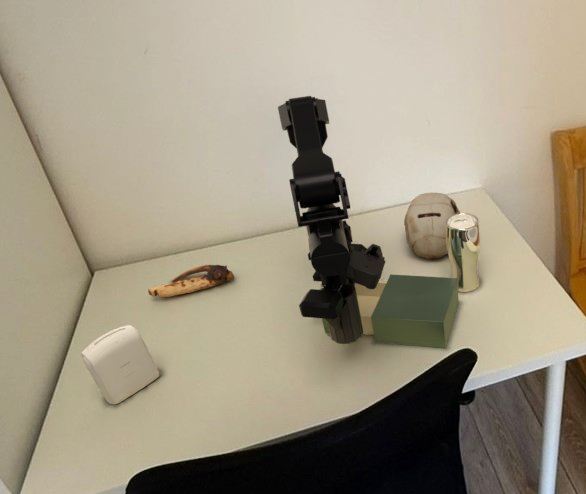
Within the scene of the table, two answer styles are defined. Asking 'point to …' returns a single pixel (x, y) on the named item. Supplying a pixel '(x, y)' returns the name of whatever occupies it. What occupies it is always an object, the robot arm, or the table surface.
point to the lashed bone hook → (193, 281)
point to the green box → (416, 311)
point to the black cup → (348, 318)
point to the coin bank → (429, 224)
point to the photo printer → (120, 363)
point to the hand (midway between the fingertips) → (343, 318)
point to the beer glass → (463, 249)
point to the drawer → (365, 305)
